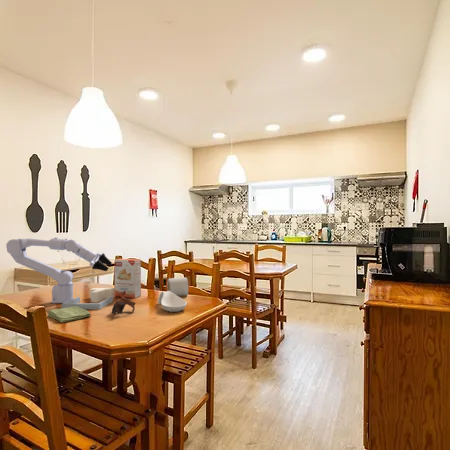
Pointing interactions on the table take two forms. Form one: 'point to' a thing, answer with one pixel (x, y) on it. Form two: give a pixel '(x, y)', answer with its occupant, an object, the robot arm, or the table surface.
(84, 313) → the washcloth
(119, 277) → the cracker box
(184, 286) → the toilet paper
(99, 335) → the table surface
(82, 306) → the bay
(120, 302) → the brown arched piece
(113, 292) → the T-block
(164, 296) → the spoon rest
